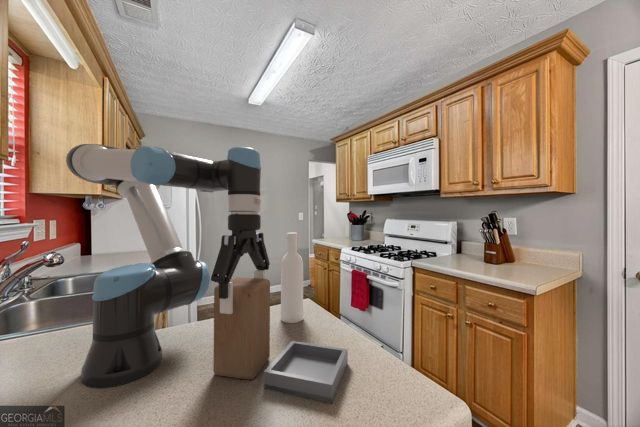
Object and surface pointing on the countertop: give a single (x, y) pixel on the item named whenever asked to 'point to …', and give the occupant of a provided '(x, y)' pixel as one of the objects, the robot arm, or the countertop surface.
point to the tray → (307, 371)
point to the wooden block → (243, 329)
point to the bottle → (292, 282)
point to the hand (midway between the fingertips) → (244, 303)
